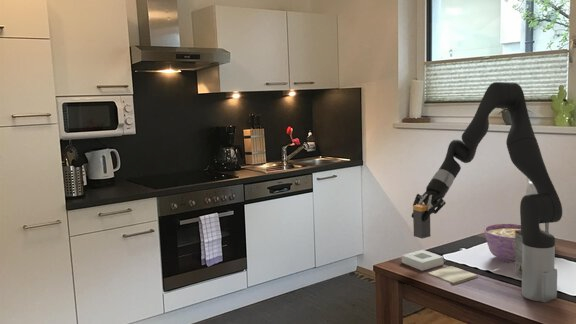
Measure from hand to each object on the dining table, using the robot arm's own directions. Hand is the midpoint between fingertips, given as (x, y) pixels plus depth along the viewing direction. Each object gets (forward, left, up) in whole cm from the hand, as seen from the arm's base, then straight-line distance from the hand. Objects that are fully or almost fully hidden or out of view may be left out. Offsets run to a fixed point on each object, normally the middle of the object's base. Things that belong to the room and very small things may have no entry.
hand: (418, 218), depth 192 cm
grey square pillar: (0, -2, -7) cm, 7 cm away
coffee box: (-31, -24, -19) cm, 43 cm away
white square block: (0, -2, -18) cm, 19 cm away
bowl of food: (-16, -33, -19) cm, 41 cm away
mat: (-15, -2, -18) cm, 24 cm away
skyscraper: (-7, -60, -19) cm, 63 cm away
